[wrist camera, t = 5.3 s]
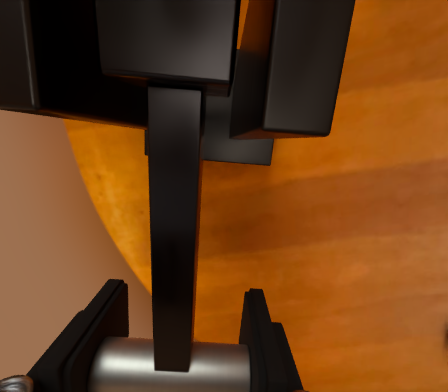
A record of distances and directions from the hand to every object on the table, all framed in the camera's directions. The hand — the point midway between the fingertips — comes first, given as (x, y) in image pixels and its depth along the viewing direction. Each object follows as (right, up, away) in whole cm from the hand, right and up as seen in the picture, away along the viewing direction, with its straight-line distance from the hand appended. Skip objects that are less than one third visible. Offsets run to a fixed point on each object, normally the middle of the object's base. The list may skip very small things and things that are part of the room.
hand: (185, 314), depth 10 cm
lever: (+1, +5, -3) cm, 6 cm away
